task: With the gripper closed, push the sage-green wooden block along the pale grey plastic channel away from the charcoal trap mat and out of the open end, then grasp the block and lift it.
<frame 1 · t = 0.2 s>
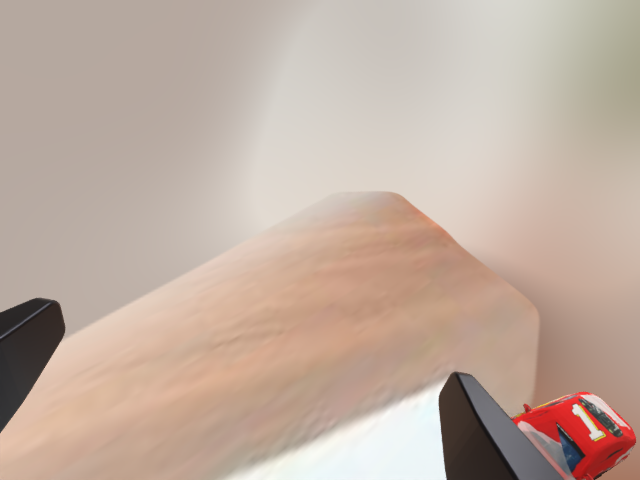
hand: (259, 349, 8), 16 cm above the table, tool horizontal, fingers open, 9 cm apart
race car: (544, 455, 27), on the table
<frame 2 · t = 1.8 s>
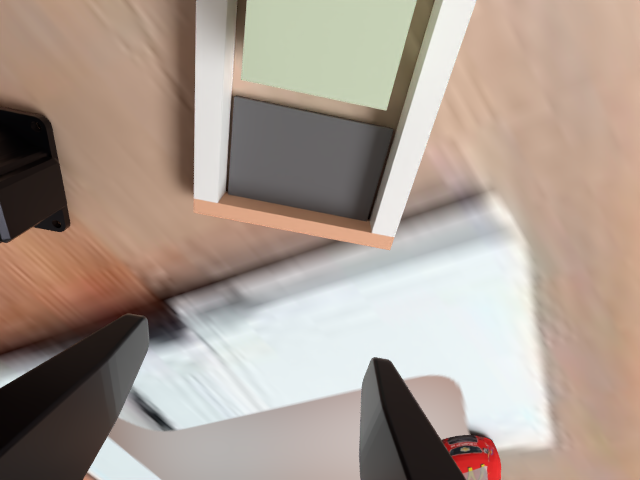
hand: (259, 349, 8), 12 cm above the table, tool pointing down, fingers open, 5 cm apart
race car: (462, 467, 33), on the table
channel: (332, 14, 15), on the table
block: (332, 14, 15), on the table
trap: (306, 162, 18), on the table
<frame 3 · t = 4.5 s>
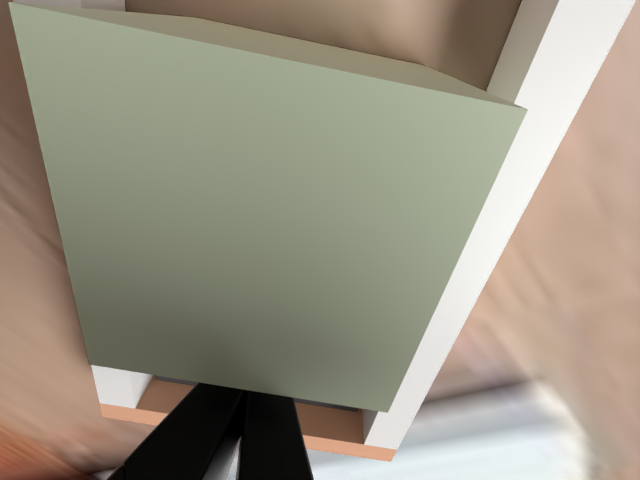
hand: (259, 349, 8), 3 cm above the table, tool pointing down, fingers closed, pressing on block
channel: (293, 166, 9), on the table
block: (296, 153, 9), on the table, touching gripper
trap: (266, 343, 12), on the table
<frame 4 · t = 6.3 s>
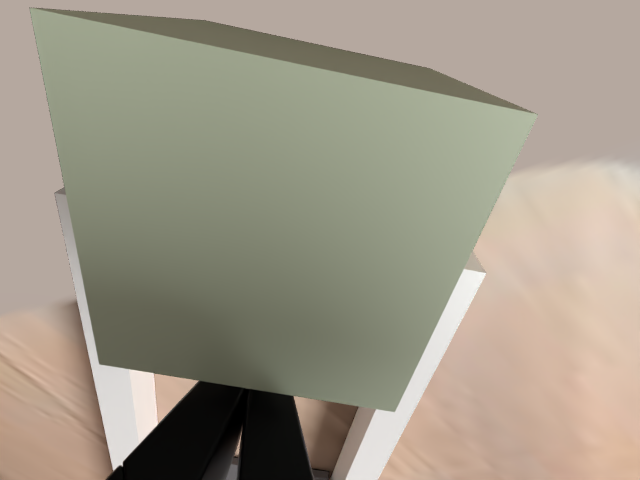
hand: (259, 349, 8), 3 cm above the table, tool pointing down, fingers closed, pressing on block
channel: (255, 406, 14), on the table
block: (301, 155, 9), on the table, touching gripper
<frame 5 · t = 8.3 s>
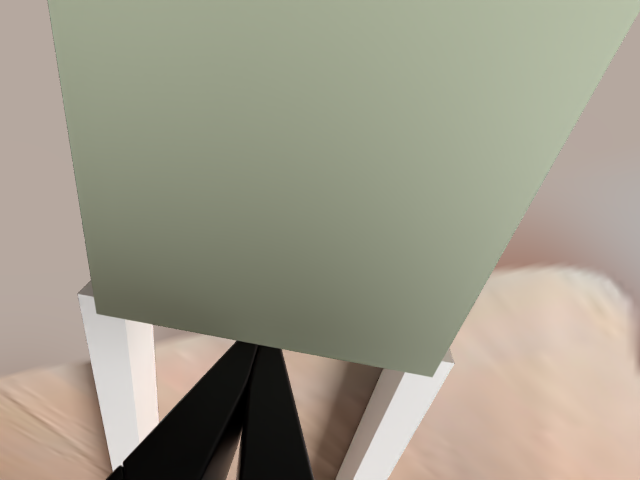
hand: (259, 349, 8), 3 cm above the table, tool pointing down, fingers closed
channel: (251, 451, 16), on the table
block: (321, 107, 8), on the table
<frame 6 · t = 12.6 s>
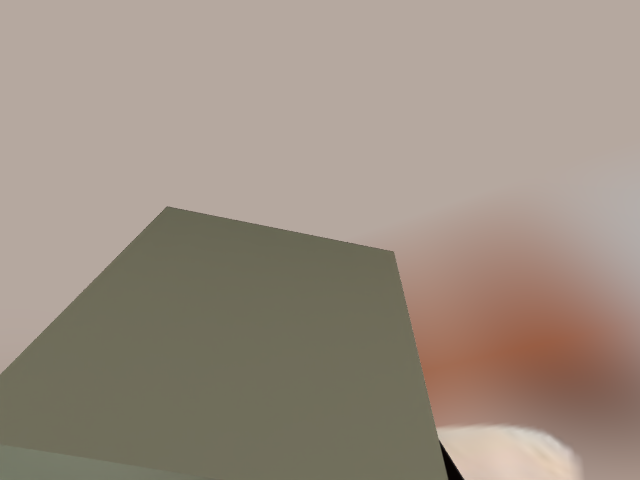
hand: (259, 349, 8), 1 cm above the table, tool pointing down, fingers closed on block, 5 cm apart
block: (268, 314, 9), on the table, touching gripper
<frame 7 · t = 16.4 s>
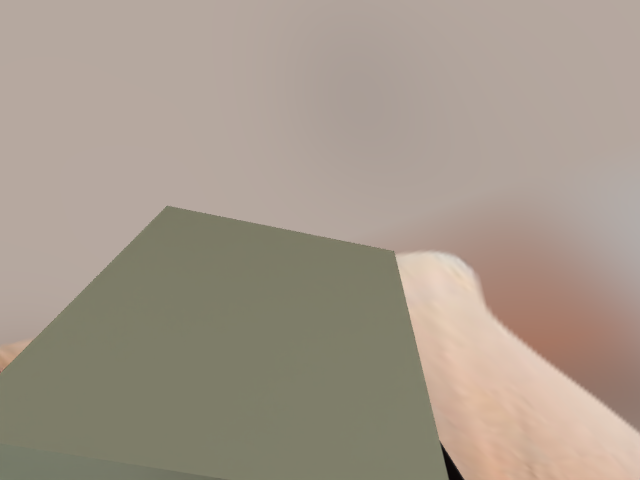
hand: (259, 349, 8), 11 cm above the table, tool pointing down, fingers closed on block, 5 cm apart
block: (268, 313, 9), point 10 cm above the table, touching gripper
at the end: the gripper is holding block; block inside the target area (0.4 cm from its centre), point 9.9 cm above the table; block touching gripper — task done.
